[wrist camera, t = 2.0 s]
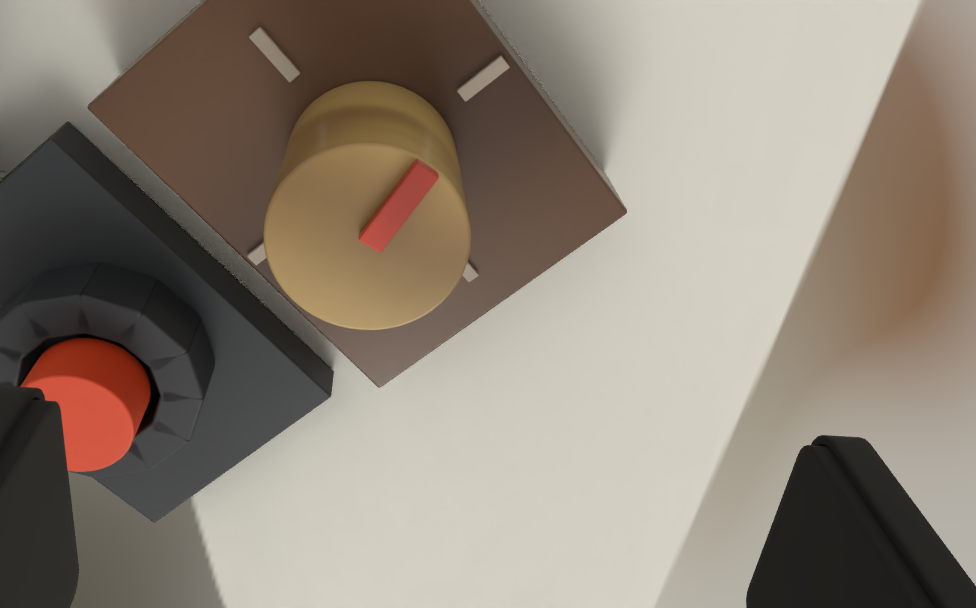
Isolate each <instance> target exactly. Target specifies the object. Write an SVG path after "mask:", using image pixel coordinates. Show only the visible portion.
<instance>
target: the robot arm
mask: <svg viewBox="0 0 976 608" xmlns="http://www.w3.org/2000/svg"><path fill="white" fill-rule="evenodd" d="M78 567H79V565H78V556H77V548H76V540H75V530H74V522H73V512H72V504H71V495H70V486H69V477H68V469H67V460H66V451H65V442H64V434H63V425H62V416H61V409H60V406H59V404H58V402H56V401H46V400H45V396H44V393H43V392H42V390H41V389H39V388H33V387H17V386H0V608H70V606H71V603H72V601H73V598H74V595H75V592H76V588H77V582H78V574H79V568H78ZM746 605H747V608H976V586H975V585H974V583H973V582H972V581H971V579H970V578H969V577H968V575H967V574H966V572H965V571H964V570H963V568H962V567H961V566H960V564H959V563H958V562H957V560H956V559H955V558H954V556H953V555H952V554H951V552H950V551H949V550H948V548H947V547H946V545H945V544H944V543H943V541H942V540H941V539H940V537H939V536H938V535H937V533H936V532H935V531H934V529H933V528H932V527H931V525H930V524H929V522H928V521H927V520H926V519H925V517H924V516H923V514H922V513H921V512H920V510H919V509H918V508H917V506H916V505H915V504H914V502H913V501H912V500H911V498H910V497H909V495H908V494H907V493H906V491H905V490H904V489H903V487H902V486H901V485H900V483H899V482H898V481H897V479H896V478H895V477H894V476H893V474H892V473H891V471H890V470H889V468H888V467H887V466H886V465H885V463H884V462H883V460H882V459H881V458H880V456H879V455H878V454H877V452H876V451H875V450H874V448H873V447H872V446H871V444H870V443H869V442H868V441H866V440H865V439H863V438H860V437H844V436H827V435H822V436H818V437H817V438H816V439H815V440H814V441H813V442H812V444H811V445H807V446H804V447H803V448H802V449H801V450H800V452H799V454H798V456H797V459H796V462H795V464H794V467H793V470H792V473H791V475H790V478H789V480H788V483H787V486H786V489H785V491H784V494H783V497H782V499H781V502H780V505H779V507H778V510H777V513H776V515H775V518H774V521H773V523H772V526H771V529H770V531H769V534H768V537H767V540H766V542H765V545H764V548H763V550H762V553H761V555H760V558H759V561H758V564H757V566H756V569H755V572H754V574H753V577H752V580H751V582H750V585H749V588H748V591H747V598H746Z"/></svg>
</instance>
